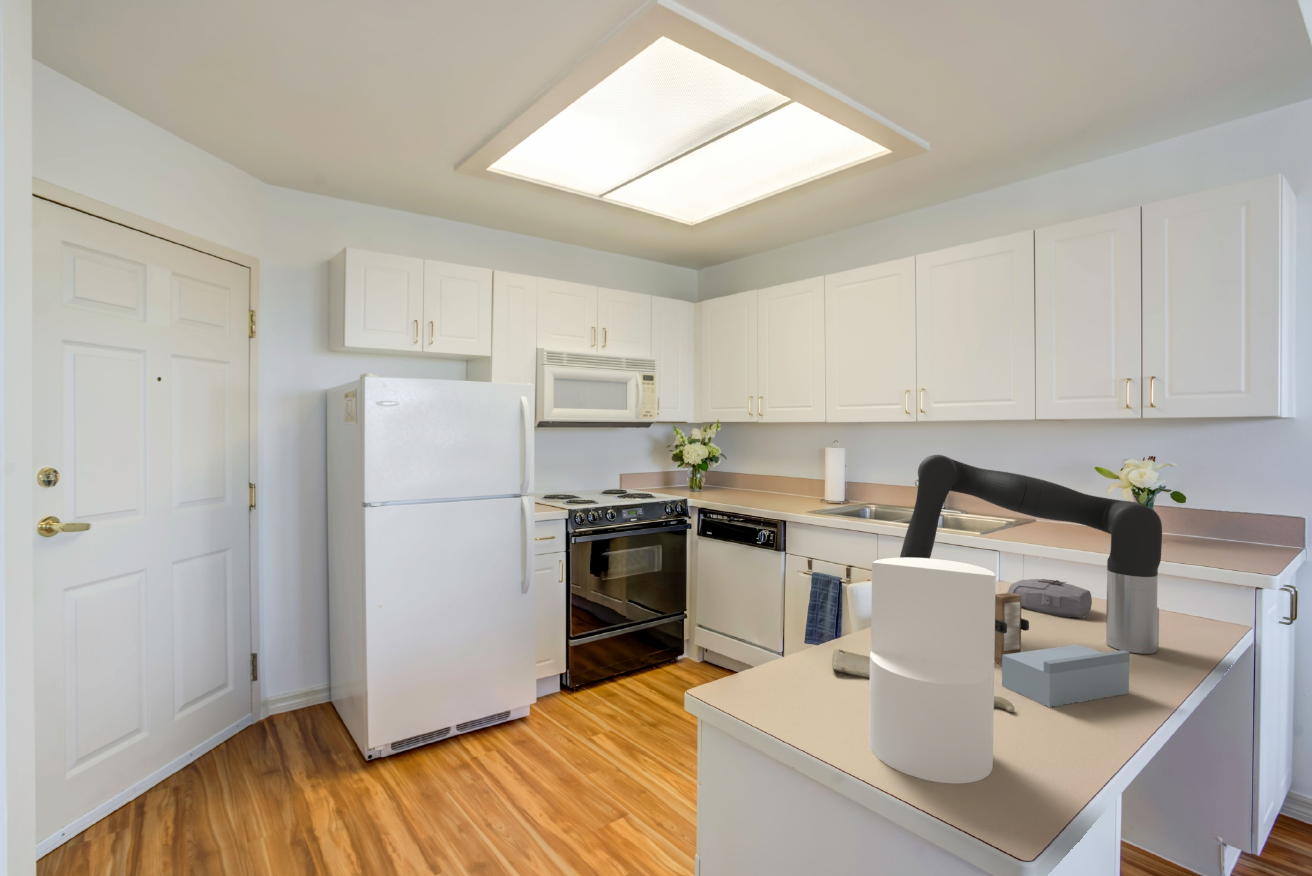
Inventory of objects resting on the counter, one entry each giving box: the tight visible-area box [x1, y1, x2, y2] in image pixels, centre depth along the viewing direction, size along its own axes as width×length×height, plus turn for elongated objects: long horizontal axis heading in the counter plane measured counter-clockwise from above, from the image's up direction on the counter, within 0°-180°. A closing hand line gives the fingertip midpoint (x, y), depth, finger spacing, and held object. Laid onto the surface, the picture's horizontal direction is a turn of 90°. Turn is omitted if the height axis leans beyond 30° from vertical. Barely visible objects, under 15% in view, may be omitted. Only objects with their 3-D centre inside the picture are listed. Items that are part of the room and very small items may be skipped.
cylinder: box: [868, 557, 996, 784], centre depth 95 cm, size 17×17×28 cm
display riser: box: [1001, 644, 1130, 708], centre depth 119 cm, size 20×10×8 cm, turn 109°
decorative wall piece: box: [831, 648, 1015, 713], centre depth 126 cm, size 30×3×30 cm
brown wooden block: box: [994, 592, 1022, 665], centre depth 134 cm, size 6×6×14 cm
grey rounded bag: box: [1007, 578, 1093, 619], centre depth 175 cm, size 15×8×20 cm
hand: (1016, 627), depth 132 cm, fingers closed on brown wooden block, 5 cm apart
